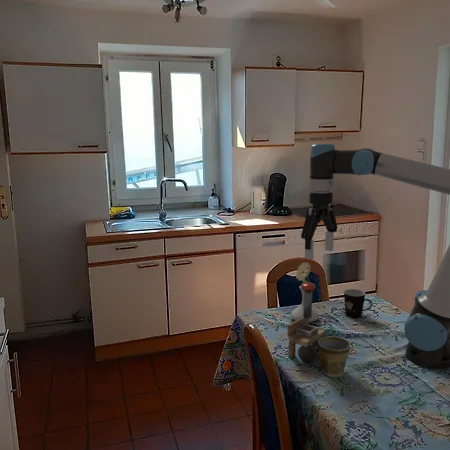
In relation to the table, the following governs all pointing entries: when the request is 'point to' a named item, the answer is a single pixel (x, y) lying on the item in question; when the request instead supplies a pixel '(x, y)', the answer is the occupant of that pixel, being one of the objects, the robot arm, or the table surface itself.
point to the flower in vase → (301, 275)
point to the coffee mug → (354, 303)
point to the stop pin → (307, 299)
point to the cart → (304, 339)
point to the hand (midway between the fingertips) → (319, 254)
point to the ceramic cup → (333, 355)
